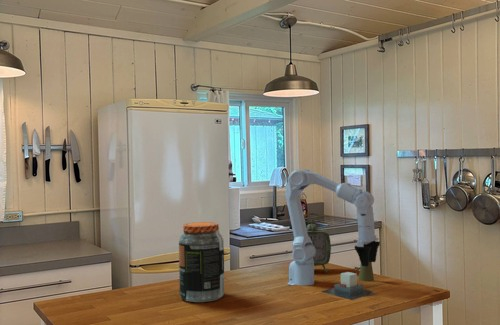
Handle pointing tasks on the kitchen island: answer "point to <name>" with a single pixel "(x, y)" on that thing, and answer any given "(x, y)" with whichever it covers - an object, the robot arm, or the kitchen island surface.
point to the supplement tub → (201, 262)
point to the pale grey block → (349, 279)
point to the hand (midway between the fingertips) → (368, 263)
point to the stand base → (348, 291)
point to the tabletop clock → (319, 243)
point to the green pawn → (366, 272)
